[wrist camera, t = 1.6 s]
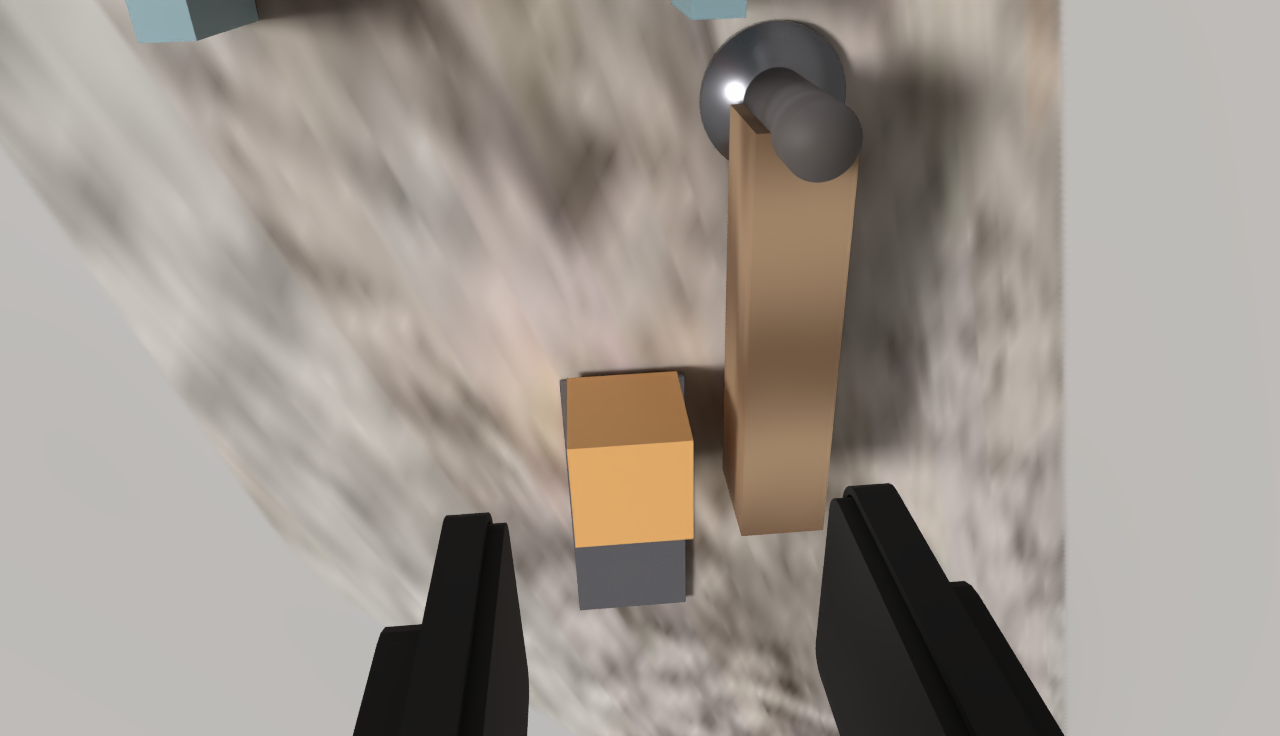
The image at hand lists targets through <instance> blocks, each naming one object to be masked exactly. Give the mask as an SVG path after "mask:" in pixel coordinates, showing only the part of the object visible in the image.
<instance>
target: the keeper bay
mask: <svg viewBox="0 0 1280 736" xmlns="http://www.w3.org/2000/svg"><path fill="white" fill-rule="evenodd" d="M125 1H126V5H127V8H128V11H129V15H130V18H131V21H132V24H133V28H134V31H135V34H136V38H137V41H138V43H156V42H179V41H198V40H201V39H204V38H207V37H210V36H213V35H216V34H219V33H222V32H225V31H228V30H231V29H234V28H237V27H241V26H244V25H247V24H250V23H253V22H256V21H259V17H258V13H257V9H256V5H255V0H125ZM746 3H747V0H671V4H672V5H674V6H675V7H676V8H677V9H679V10H680V11H681V12H682V13H684V14H685V15H686V16H687V17H689V18H690V19H691V20H701V19H725V18H746Z"/></svg>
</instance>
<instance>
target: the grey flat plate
mask: <svg viewBox="0 0 1280 736" xmlns="http://www.w3.org/2000/svg"><path fill="white" fill-rule="evenodd" d="M677 374H678V379H679V383H680V387H681V391H682V395H683V399H684V373H683V372H679V373H677ZM560 393H561V404H562V415H563V426H564V437H565V448H566V460H567V471H568V482H569V493H570V504H571V515H572V526H573V537H574V548H575V559H576V571H577V582H578V593H579V604H580V610H589V609H602V608H615V607H627V606H640V605H652V604H665V603H677V602H686V579H685V539H684V540H671V541H658V542H644V543H631V544H618V545H605V546H591V547H578V548H576V546H575V535H574V524H573V512H572V501H571V490H570V479H569V467H568V456H567V380H560Z"/></svg>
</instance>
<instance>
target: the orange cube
mask: <svg viewBox="0 0 1280 736" xmlns="http://www.w3.org/2000/svg"><path fill="white" fill-rule="evenodd" d="M567 456H568V467H569V479H570V490H571V501H572V512H573V524H574V535H575V546H576V548H578V547H591V546H605V545H618V544H631V543H644V542H658V541H671V540H684V539H693V437H692V433H691V428H690V424H689V420H688V416H687V412H686V408H685V403H684V399H683V395H682V391H681V387H680V383H679V379H678V374H677V371H671V372H656V373H640V374H625V375H610V376H594V377H579V378H567Z"/></svg>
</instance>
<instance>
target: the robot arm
mask: <svg viewBox="0 0 1280 736" xmlns="http://www.w3.org/2000/svg"><path fill="white" fill-rule="evenodd" d="M816 659H817V665H818V670H819V673H820V677H821V680H822V683H823V686H824V689H825V692H826V695H827V698H828V701H829V704H830V707H831V710H832V713H833V716H834V719H835V722H836V725H837V728H838V731H839V734H840V736H1064V734H1063V733H1062V731H1061V729H1060V728H1059V726H1058V724H1057V723H1056V721H1055V719H1054V718H1053V716H1052V714H1051V713H1050V711H1049V710H1048V708H1047V706H1046V705H1045V703H1044V701H1043V700H1042V698H1041V696H1040V695H1039V693H1038V691H1037V690H1036V688H1035V687H1034V685H1033V683H1032V682H1031V680H1030V678H1029V677H1028V675H1027V673H1026V672H1025V670H1024V668H1023V667H1022V665H1021V664H1020V662H1019V660H1018V659H1017V657H1016V655H1015V654H1014V652H1013V650H1012V649H1011V647H1010V645H1009V644H1008V642H1007V641H1006V639H1005V637H1004V636H1003V634H1002V632H1001V631H1000V629H999V627H998V626H997V624H996V622H995V621H994V619H993V618H992V616H991V614H990V613H989V611H988V609H987V608H986V606H985V604H984V603H983V601H982V599H981V598H980V596H979V595H978V593H977V592H976V591H975V590H974V588H973V587H972V586H971V585H970V584H968V583H967V582H965V581H958V582H949V580H948V579H947V577H946V575H945V573H944V572H943V570H942V568H941V566H940V565H939V563H938V561H937V559H936V558H935V556H934V554H933V553H932V551H931V549H930V547H929V546H928V544H927V542H926V540H925V539H924V537H923V535H922V533H921V532H920V530H919V528H918V527H917V525H916V523H915V521H914V520H913V518H912V516H911V514H910V513H909V511H908V509H907V507H906V506H905V504H904V502H903V500H902V499H901V497H900V495H899V494H898V492H897V490H896V489H895V487H894V486H893V485H892V484H889V483H886V484H872V485H858V486H848V487H846V489H845V491H844V494H843V498H834V499H832V500H831V503H830V508H829V518H828V528H827V538H826V547H825V557H824V567H823V577H822V587H821V597H820V607H819V617H818V627H817V637H816ZM528 706H529V677H528V666H527V659H526V652H525V645H524V637H523V630H522V623H521V616H520V608H519V601H518V594H517V587H516V580H515V572H514V565H513V558H512V551H511V543H510V536H509V530H508V525H507V523H495V524H493V522H492V517H491V515H490V513H489V512H488V513H474V514H461V515H447V516H446V517H445V518H444V521H443V525H442V530H441V535H440V539H439V544H438V549H437V554H436V559H435V564H434V568H433V573H432V578H431V583H430V588H429V592H428V597H427V602H426V607H425V612H424V617H423V621H422V624H419V625H406V626H394V627H385V628H384V629H383V631H382V632H381V634H380V637H379V640H378V643H377V646H376V649H375V653H374V657H373V661H372V665H371V669H370V672H369V676H368V680H367V684H366V687H365V692H364V695H363V699H362V703H361V707H360V710H359V714H358V718H357V722H356V725H355V729H354V733H353V736H527V726H528Z"/></svg>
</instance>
